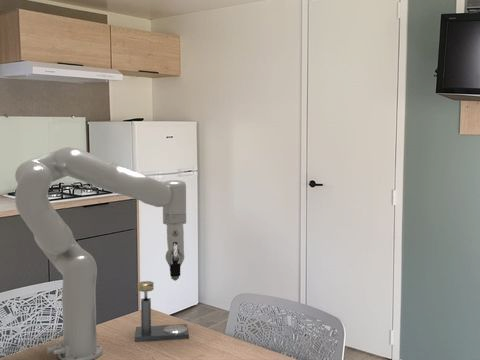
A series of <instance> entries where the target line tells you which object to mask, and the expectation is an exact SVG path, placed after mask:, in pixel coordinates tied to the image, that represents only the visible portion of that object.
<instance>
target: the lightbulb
mask: <svg viewBox="0 0 480 360" xmlns="http://www.w3.org/2000/svg"><path fill="white" fill-rule="evenodd" d="M172 254H174V253H172ZM179 254H180V252H179ZM173 257H174V256H173ZM165 261H166V262H167V265H168V266H169V268H170V264H171V255H169V252H168V250H167V251H166V253H165ZM184 261H185V253H184V254H183V255H182V254H180V268H182V265H183V262H184ZM170 278H171V280H173V281H175V282H176V281H177V280H179V279H180V276H173V277H171V276H170Z"/></svg>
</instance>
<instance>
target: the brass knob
mask: <svg viewBox="0 0 480 360" xmlns="http://www.w3.org/2000/svg"><path fill="white" fill-rule="evenodd" d="M137 291H138V292H142V293H143V294H144V295H143V299H144V301H147V298H148V292H152V291H154V282H153V281H149V280H145V281H143V280H142V281H140V282H138V283H137Z"/></svg>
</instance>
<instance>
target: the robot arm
mask: <svg viewBox="0 0 480 360" xmlns="http://www.w3.org/2000/svg"><path fill="white" fill-rule="evenodd" d="M14 176H15V180H16V182H17V186H16V188H15V195H14V196H15V197H14V201H15V207H16V210H17V212H18V214H19V216H20V217H21V219H22V220H23V221H24V223H25V224H26V226H27V227H28V228H29V230H30V232H32V234H33V237H34V238H33V239H34V241H35V243H36V245H37V246H38V247H39V248H40V250H41V251H42V252H43V253H44V255H45V256H46V258H47V259H48V260H49V261H50V262H51V264H52V265H53V266H54V267H55V269H56V270H57V271H58V272H59V274H61V275H62V288H61V306H62V307H61V310H62V338H63V339H60V343H57V345H51V346H46V354H47V355H48V354H53V356H56V355H57V358H58V359H59V360H95V359H97V358H98V357H100V356H101V355H102V353H103V347H102V346H101V345H100V344H99V343H98V342H97V339H98V338H97V306H96V305H97V302H96V301H97V299H96V298H97V297H96V295H97V294H96V293H97V292H96V288H97V287H96V286H97V284H96V283H97V276H98V266H97V263H96V260H95V258H94V256H93V255H92V254H91V253H89V252H88V251H87V250H85V249H83V248H82V247H81V246H80V244H79V243H78V242H77V241H76V239H75V238H74V234H73V231H72V230H71V228H70V227H69V225H68V224H67V223H66V222H65V221H64V220H63V218H62V217H61V216H60V214H59V213H58V211H56V209H55V207H54V206H53V204H52V203H51V202H50V200H49V189H50V187H51V185H52V183H53V182H56V181H59V180H61V179H63V178H65V177H70V178H71V179H75V180H78V181H81V182H83V183H85V184H89V185H91V186H93V187H97V188H99V189H102V190H105V191H108V192H111V193H113V194H118V195H122V196H124V197H125V196H126V197H129V198H132V199H135V200H138V201H140V202H141V203H143V204H146V205H149V206H153V207H155V208H162V224H163V225H166V241H167V242H166V243H167V251H168V252H169V255H171V264H170V267H169V273H170V274H169V275H170V278H171V277H173V276H179V277H181V267H180V254H182V255H183V254H184V255H185V247H184V246H185V239H184V238H185V236H184V235H185V234H184V225H185V224H187V184H186V182H185V181H183V180H177V179H173V180H166V181H165V180H164V181H160V180H157V179H154V178H152V177H149V176H147V175H145V174H141V173H139V172H136V171H134V170H133V169H132V170H131V169H129V168H128V167H125V166H123V165H120V164H118V163H116V162H114V161H110V160H108V159H106V158H103V157H100V156H98V155H95V154H92V153H91V152H88V151H86V150H83V149H81V148H78V147H77V148H76V147H62V148H59V149H57V150H55V151H52V152H49V153H47V154H43V155H41V156H38V157H34V158H32V159H29V160H27V161H24V162H22V163H21V164H20V165H19V166H18V167H17V168H16V171H15V175H14ZM179 252H180V254H179ZM172 253H174V254H172ZM173 256H174V257H173Z"/></svg>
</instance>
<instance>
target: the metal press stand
mask: <svg viewBox="0 0 480 360" xmlns="http://www.w3.org/2000/svg"><path fill="white" fill-rule="evenodd" d="M140 299H141V300H140V308H141V309H140V310H141V311H140V313H141V315H140V318H141V320H140V321H141V326H135V333H134V342H135V343H136V342H150V341H154V342H155V341H170V340H184V339H185V340H188V339H190V338H189V328H188V324H187V323H181V324H162V325H161V324H160V325H152V306H151V305H152V304H151V303H152V301H151V299H152V298H148V297H147V301H144V298H140Z"/></svg>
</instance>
